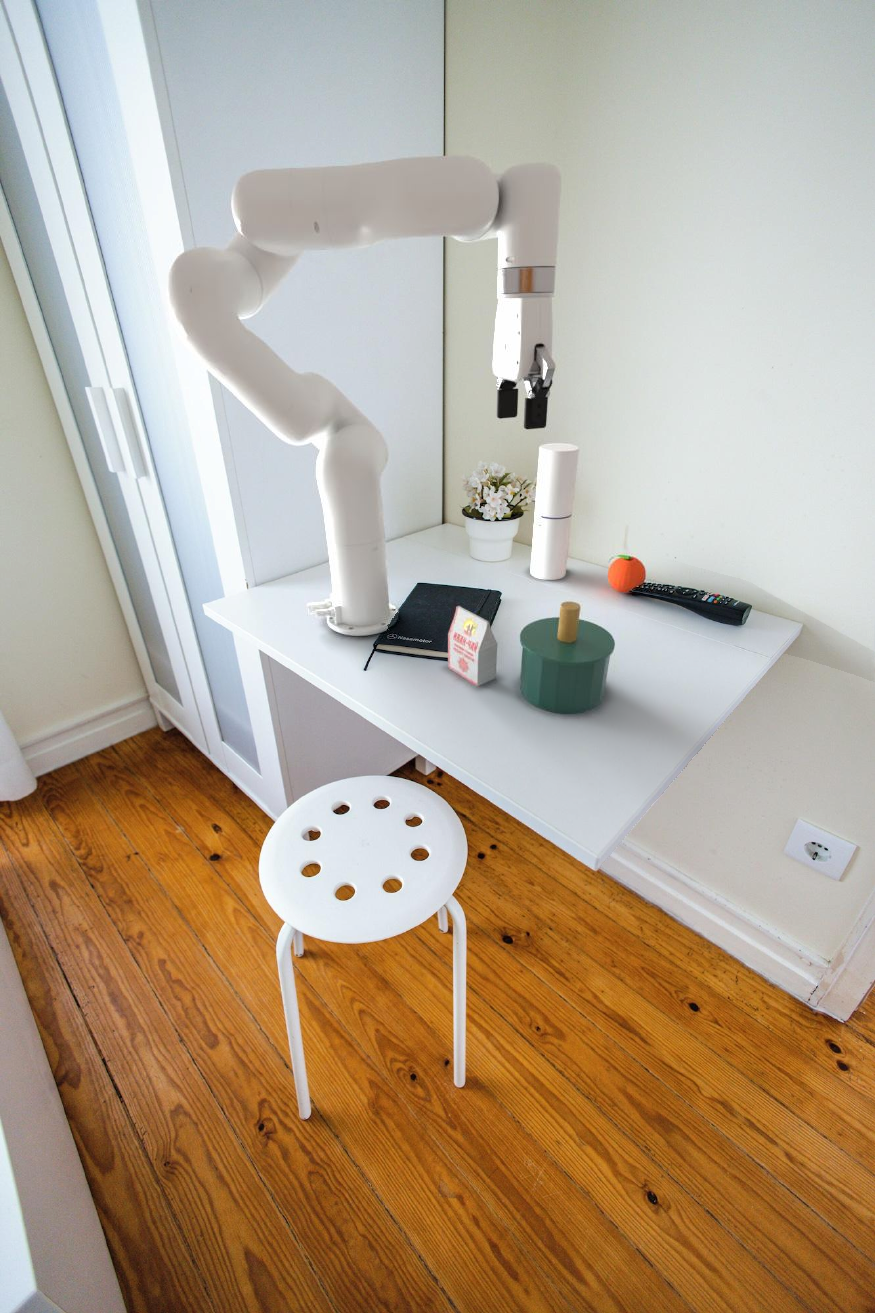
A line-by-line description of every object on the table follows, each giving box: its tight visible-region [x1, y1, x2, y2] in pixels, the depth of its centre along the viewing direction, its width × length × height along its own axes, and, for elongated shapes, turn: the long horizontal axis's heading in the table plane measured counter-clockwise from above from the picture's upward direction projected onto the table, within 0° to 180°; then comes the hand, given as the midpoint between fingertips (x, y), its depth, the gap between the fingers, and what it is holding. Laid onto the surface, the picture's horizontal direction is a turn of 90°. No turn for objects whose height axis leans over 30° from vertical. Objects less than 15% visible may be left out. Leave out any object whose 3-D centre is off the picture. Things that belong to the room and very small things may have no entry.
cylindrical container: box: [530, 442, 580, 581], centre depth 117 cm, size 7×7×25 cm
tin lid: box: [519, 601, 616, 666], centre depth 81 cm, size 13×13×6 cm
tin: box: [519, 647, 611, 715], centre depth 85 cm, size 12×12×8 cm
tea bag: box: [447, 605, 498, 687], centre depth 88 cm, size 4×7×10 cm, turn 38°
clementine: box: [607, 554, 647, 594], centre depth 114 cm, size 8×7×7 cm
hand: (520, 422), depth 88 cm, fingers open, 9 cm apart
